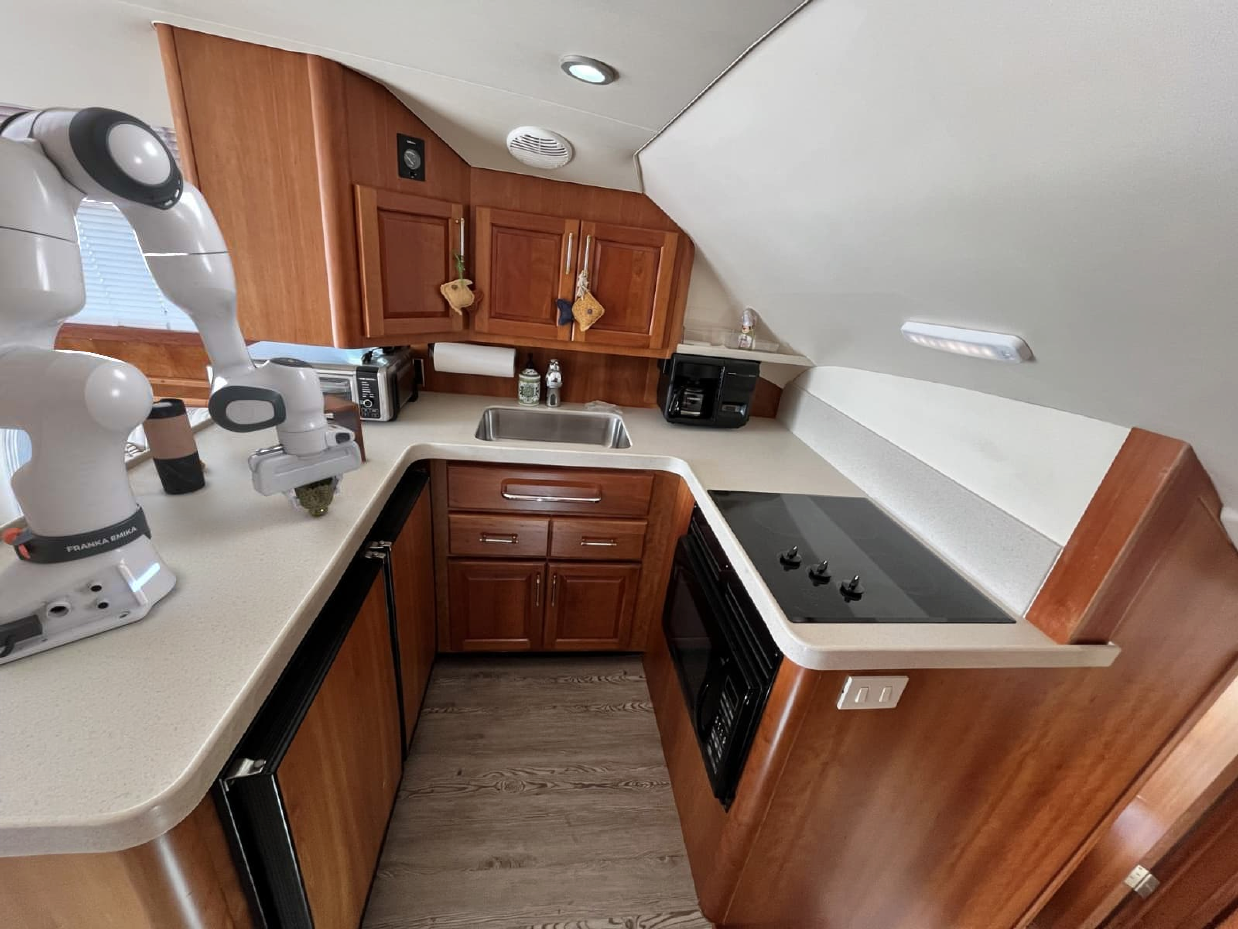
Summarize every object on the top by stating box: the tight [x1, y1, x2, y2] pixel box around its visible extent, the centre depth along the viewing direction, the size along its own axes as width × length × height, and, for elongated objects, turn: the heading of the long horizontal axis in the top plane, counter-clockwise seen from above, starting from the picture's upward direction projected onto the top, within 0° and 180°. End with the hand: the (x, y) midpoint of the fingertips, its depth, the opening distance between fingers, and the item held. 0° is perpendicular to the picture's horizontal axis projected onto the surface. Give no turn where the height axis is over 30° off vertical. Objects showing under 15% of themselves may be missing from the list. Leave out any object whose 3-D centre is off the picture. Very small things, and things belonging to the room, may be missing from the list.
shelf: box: [323, 394, 367, 463], centre depth 126 cm, size 14×12×16 cm
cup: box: [293, 477, 335, 517], centre depth 104 cm, size 8×7×8 cm
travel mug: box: [141, 397, 206, 496], centre depth 107 cm, size 8×8×20 cm
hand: (315, 499), depth 105 cm, fingers closed on cup, 6 cm apart
